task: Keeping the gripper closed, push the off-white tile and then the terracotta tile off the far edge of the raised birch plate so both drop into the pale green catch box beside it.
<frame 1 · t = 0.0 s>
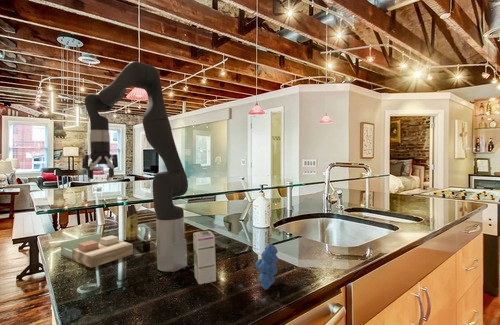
hand: (101, 178, 123), 29 cm above the worktop, tool pointing down, fingers open, 8 cm apart
white tile: (109, 242, 114), point 4 cm above the worktop, touching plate
catch box: (88, 251, 116), on the worktop
syrup box: (205, 280, 88), on the worktop
grapes: (266, 285, 83), on the worktop
terracotta tile: (88, 248, 108), point 4 cm above the worktop, touching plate
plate: (103, 256, 109), on the worktop
sauce bottle: (130, 239, 132), on the worktop
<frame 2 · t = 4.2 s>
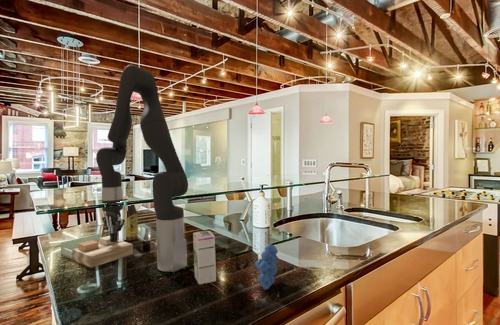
hand: (113, 241, 112), 5 cm above the worktop, tool pointing down, fingers closed
white tile: (108, 242, 114), point 4 cm above the worktop, touching gripper, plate
everything else where it was.
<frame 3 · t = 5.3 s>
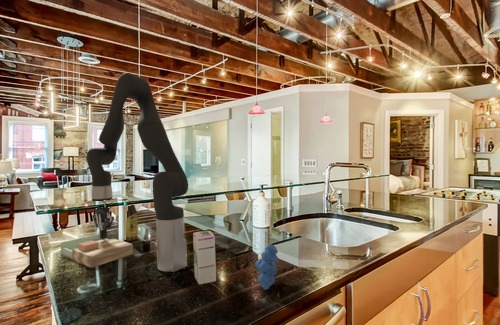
hand: (103, 238, 117), 5 cm above the worktop, tool pointing down, fingers closed
white tile: (97, 241, 120), point 3 cm above the worktop, tilted 180°, touching catch box
everything else where it was.
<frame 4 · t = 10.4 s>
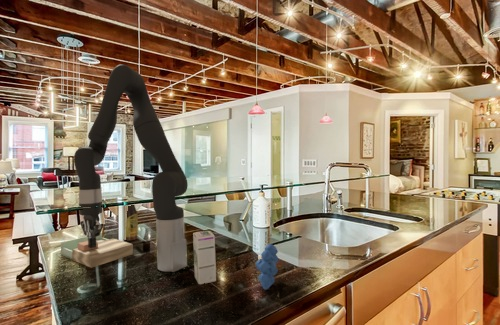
hand: (92, 247, 106), 5 cm above the worktop, tool pointing down, fingers closed
terracotta tile: (88, 247, 108), point 4 cm above the worktop, touching gripper, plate
everything else where it was.
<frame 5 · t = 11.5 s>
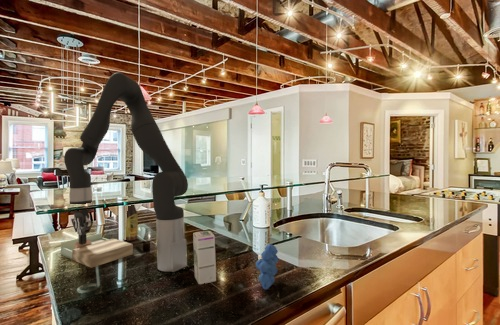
hand: (82, 243, 110), 5 cm above the worktop, tool pointing down, fingers closed
terracotta tile: (82, 248, 111), point 3 cm above the worktop, tilted 51°, touching catch box, gripper
everything else where it was.
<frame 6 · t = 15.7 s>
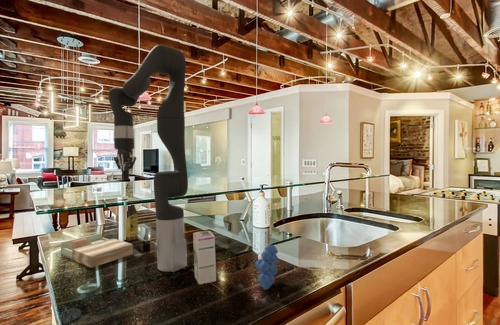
hand: (125, 179, 117), 29 cm above the worktop, tool pointing down, fingers closed
terracotta tile: (80, 246, 112), point 3 cm above the worktop, tilted 90°, touching catch box
everything else where it was.
at the end: white tile inside the target area on the catch box (4.2 cm from its centre), point 2.6 cm above the catch box's base; terracotta tile inside the target area on the catch box (3.9 cm from its centre), point 3.1 cm above the catch box's base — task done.
